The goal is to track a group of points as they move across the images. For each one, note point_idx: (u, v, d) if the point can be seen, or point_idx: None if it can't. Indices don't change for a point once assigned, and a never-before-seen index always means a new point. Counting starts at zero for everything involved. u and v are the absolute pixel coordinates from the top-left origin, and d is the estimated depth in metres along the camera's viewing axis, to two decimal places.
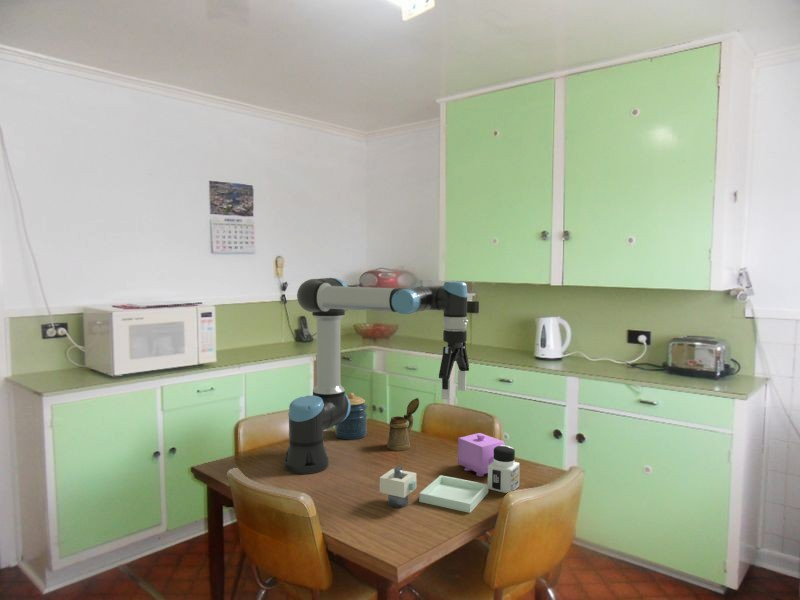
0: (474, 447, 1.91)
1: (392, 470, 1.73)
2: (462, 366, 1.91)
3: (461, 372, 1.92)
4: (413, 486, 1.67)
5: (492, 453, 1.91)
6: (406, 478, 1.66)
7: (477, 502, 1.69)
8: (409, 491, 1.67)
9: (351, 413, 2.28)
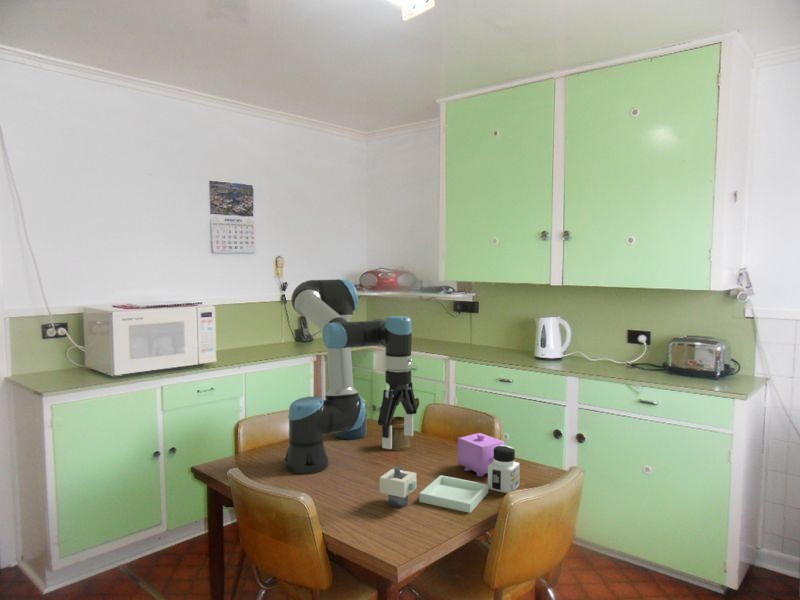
0: (474, 447, 1.91)
1: (392, 470, 1.73)
2: (408, 409, 1.73)
3: (408, 415, 1.73)
4: (413, 486, 1.67)
5: (492, 453, 1.91)
6: (406, 478, 1.66)
7: (477, 502, 1.69)
8: (409, 491, 1.67)
9: None
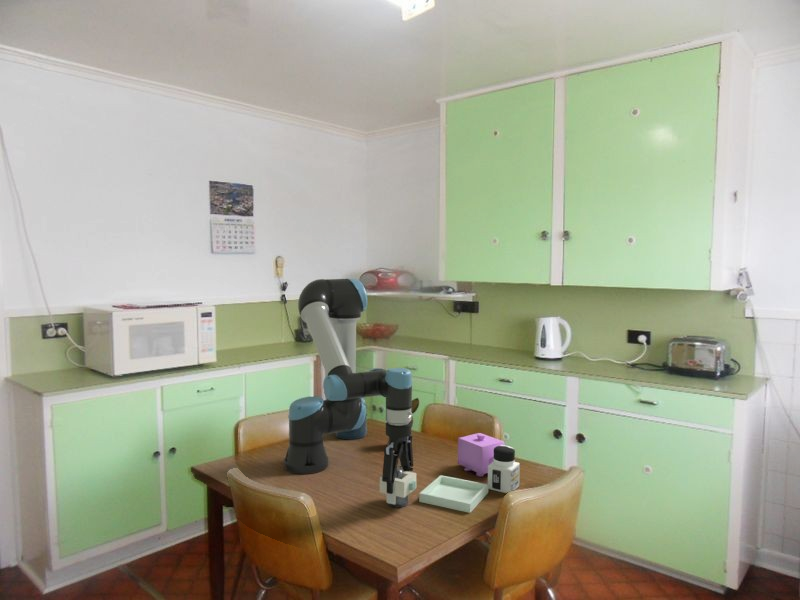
0: (474, 447, 1.91)
1: None
2: (405, 464, 1.72)
3: None
4: (413, 486, 1.67)
5: (492, 453, 1.91)
6: (406, 478, 1.66)
7: (477, 502, 1.69)
8: (409, 491, 1.67)
9: None
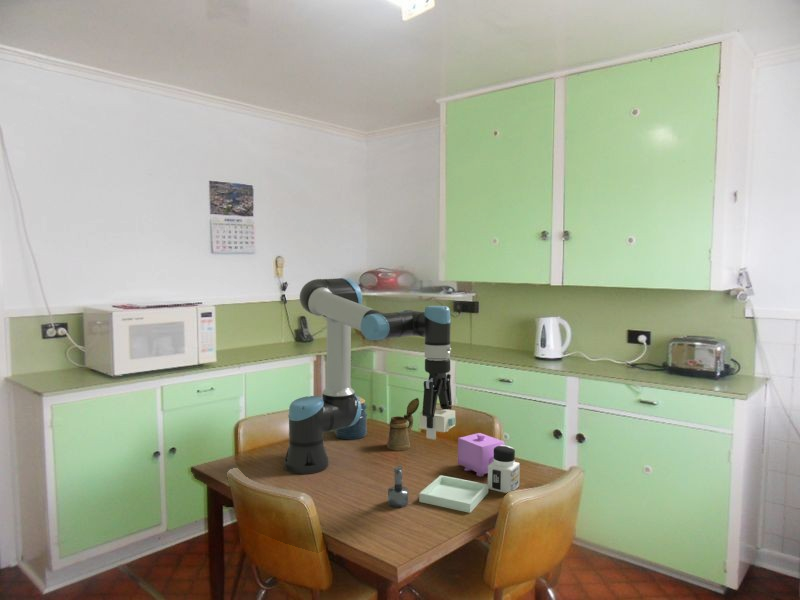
0: (474, 447, 1.91)
1: None
2: (444, 402, 1.73)
3: None
4: (453, 422, 1.68)
5: (492, 453, 1.91)
6: (445, 414, 1.68)
7: (477, 502, 1.69)
8: (449, 427, 1.68)
9: None
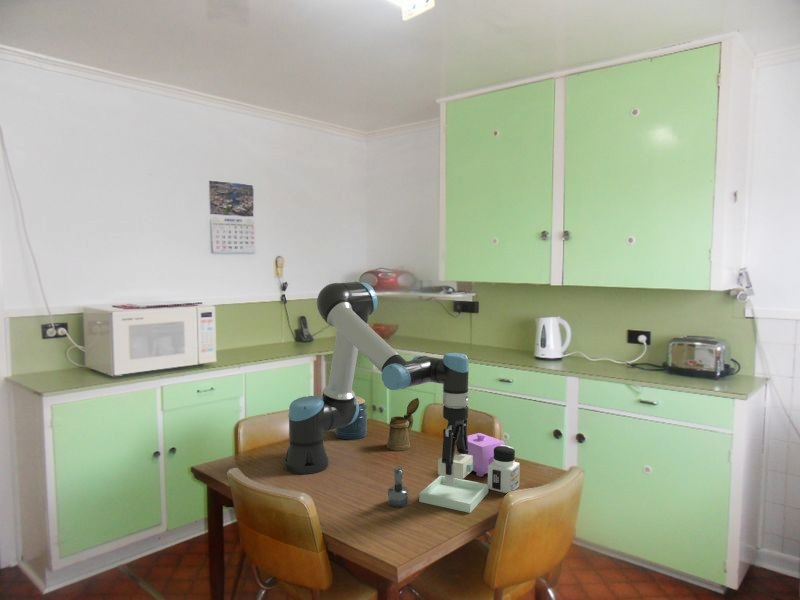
0: (474, 447, 1.91)
1: None
2: (461, 447, 1.76)
3: None
4: (471, 468, 1.71)
5: (492, 453, 1.91)
6: (464, 460, 1.71)
7: (477, 502, 1.69)
8: (467, 473, 1.71)
9: None
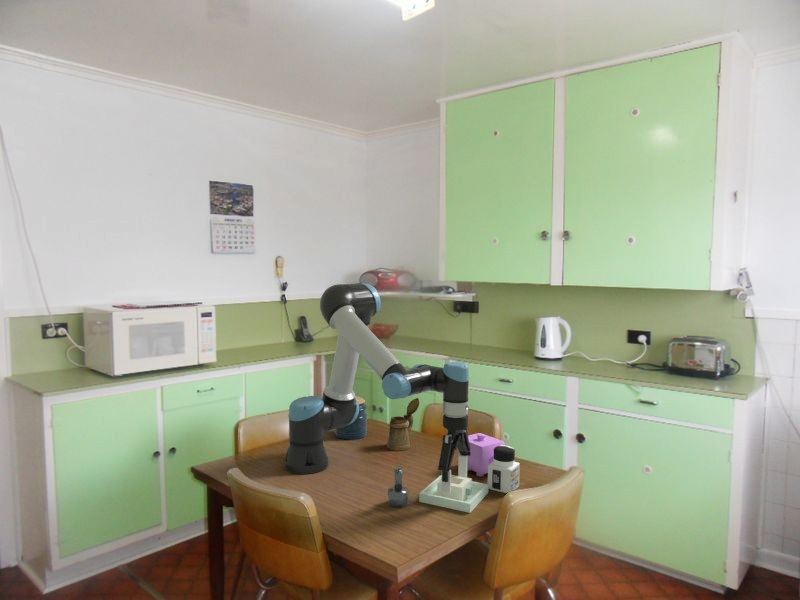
0: (474, 447, 1.91)
1: None
2: (463, 451, 1.78)
3: (462, 457, 1.79)
4: (470, 491, 1.71)
5: (492, 453, 1.91)
6: (463, 483, 1.71)
7: (477, 502, 1.69)
8: (466, 496, 1.72)
9: None
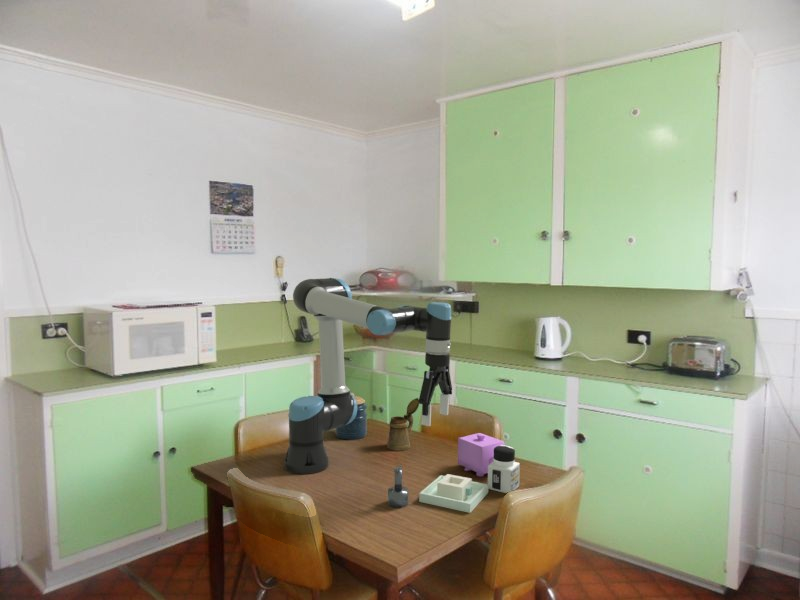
0: (474, 447, 1.91)
1: (447, 475, 1.78)
2: (445, 389, 1.84)
3: (444, 396, 1.85)
4: (470, 491, 1.71)
5: (492, 453, 1.91)
6: (463, 483, 1.71)
7: (477, 502, 1.69)
8: (466, 496, 1.72)
9: None
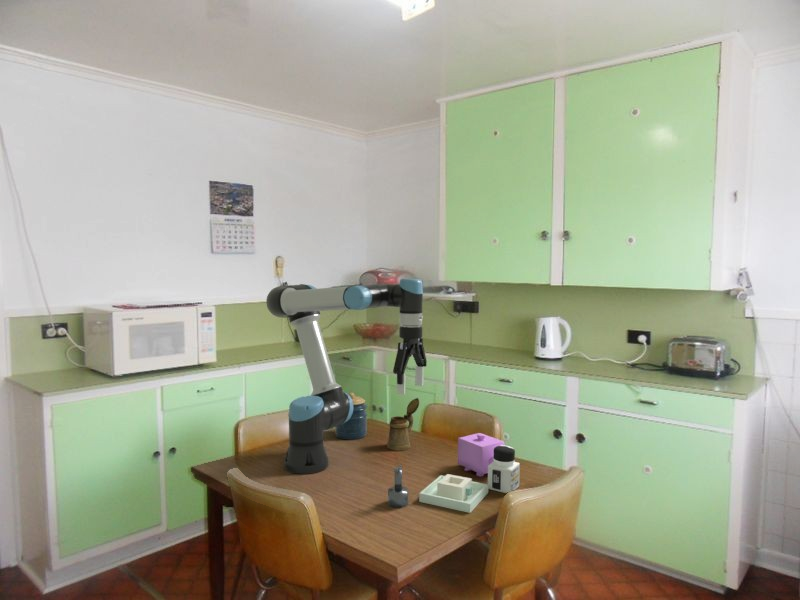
0: (474, 447, 1.91)
1: (447, 475, 1.78)
2: (419, 362, 1.95)
3: (418, 368, 1.95)
4: (470, 491, 1.71)
5: (492, 453, 1.91)
6: (463, 483, 1.71)
7: (477, 502, 1.69)
8: (466, 496, 1.72)
9: None
